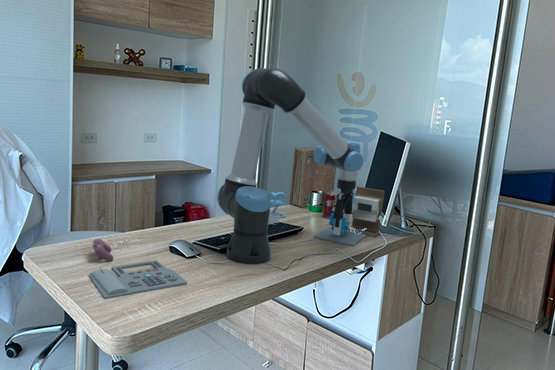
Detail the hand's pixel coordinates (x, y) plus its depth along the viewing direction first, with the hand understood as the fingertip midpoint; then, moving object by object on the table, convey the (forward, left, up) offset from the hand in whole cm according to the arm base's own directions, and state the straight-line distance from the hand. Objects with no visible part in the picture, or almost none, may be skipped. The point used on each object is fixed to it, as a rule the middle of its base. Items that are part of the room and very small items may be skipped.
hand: (340, 231), depth 197 cm
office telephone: (-84, +34, -3) cm, 91 cm away
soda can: (+28, +15, -3) cm, 32 cm away
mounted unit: (+14, -6, -2) cm, 15 cm away
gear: (0, +1, 0) cm, 1 cm away
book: (+49, +33, -3) cm, 59 cm away
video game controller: (-77, +54, -3) cm, 94 cm away
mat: (0, 0, -2) cm, 2 cm away
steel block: (0, +32, -2) cm, 32 cm away
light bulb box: (+57, +13, -3) cm, 59 cm away
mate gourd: (+18, +8, -3) cm, 20 cm away
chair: (+11, +36, -3) cm, 38 cm away
